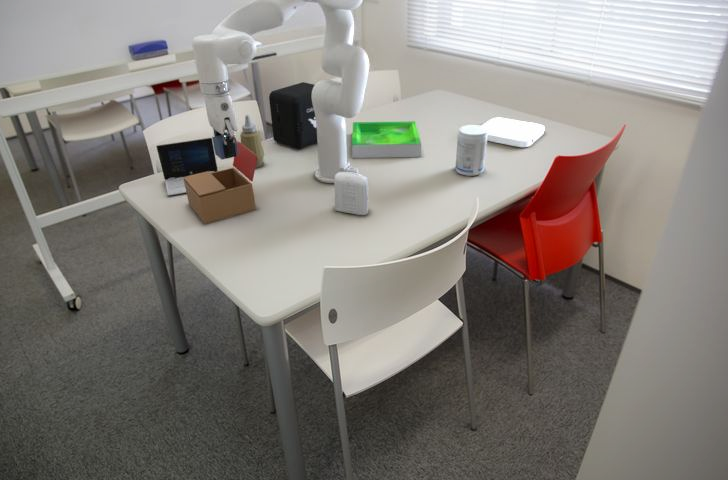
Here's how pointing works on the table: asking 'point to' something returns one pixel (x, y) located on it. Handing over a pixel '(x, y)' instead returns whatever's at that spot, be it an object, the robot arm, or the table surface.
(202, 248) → the table surface
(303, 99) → the black box-shaped case
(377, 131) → the tray
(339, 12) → the robot arm
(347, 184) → the white upright block
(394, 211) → the table surface
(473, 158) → the supplement tub
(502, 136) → the computer
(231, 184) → the carton
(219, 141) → the block
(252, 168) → the flap
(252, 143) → the squeeze bottle
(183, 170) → the laptop
